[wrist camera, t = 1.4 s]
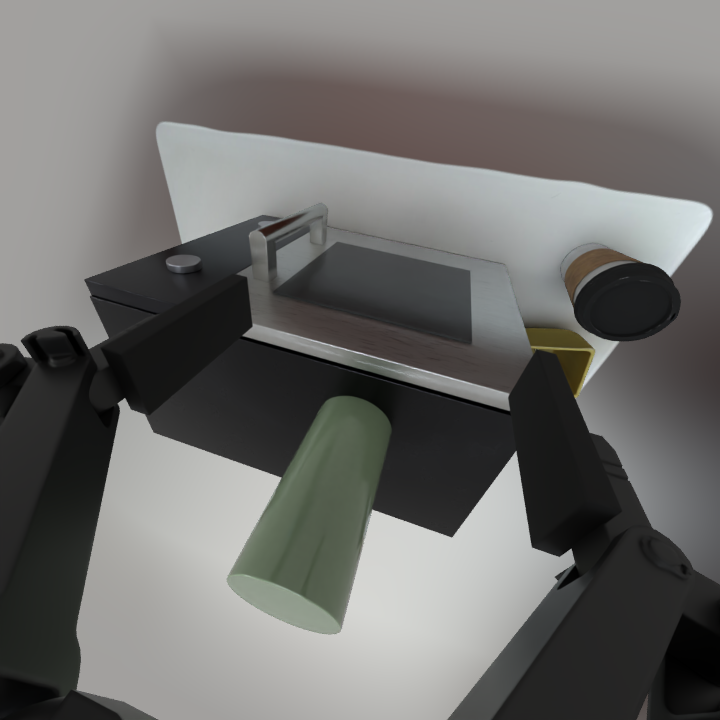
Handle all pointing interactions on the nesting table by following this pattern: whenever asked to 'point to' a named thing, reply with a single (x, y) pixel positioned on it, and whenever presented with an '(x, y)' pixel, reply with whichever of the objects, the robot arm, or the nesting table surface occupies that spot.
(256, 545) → the canister
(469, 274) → the microwave door
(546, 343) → the flower pot
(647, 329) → the coffee cup
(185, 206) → the nesting table surface
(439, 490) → the microwave
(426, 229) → the nesting table surface
